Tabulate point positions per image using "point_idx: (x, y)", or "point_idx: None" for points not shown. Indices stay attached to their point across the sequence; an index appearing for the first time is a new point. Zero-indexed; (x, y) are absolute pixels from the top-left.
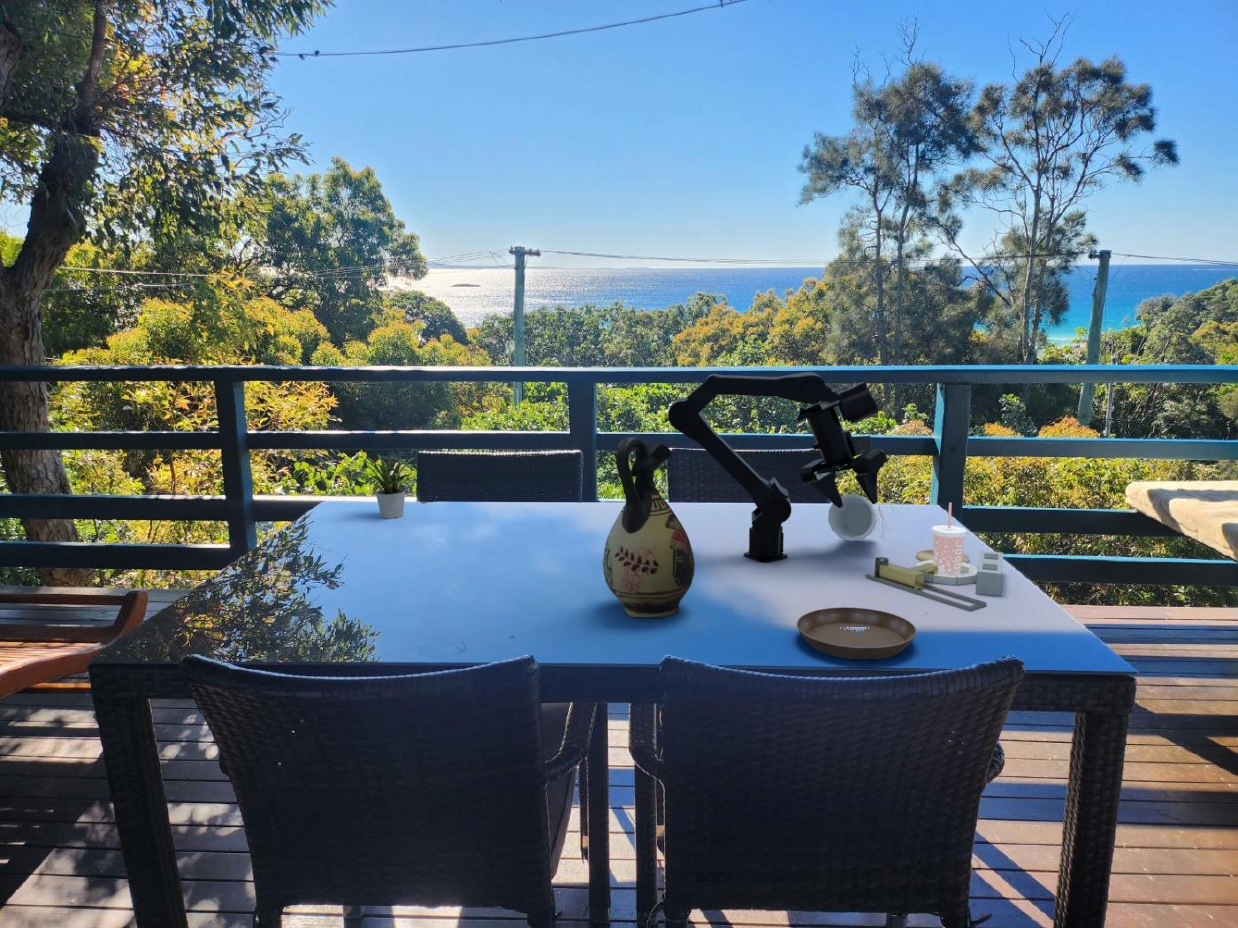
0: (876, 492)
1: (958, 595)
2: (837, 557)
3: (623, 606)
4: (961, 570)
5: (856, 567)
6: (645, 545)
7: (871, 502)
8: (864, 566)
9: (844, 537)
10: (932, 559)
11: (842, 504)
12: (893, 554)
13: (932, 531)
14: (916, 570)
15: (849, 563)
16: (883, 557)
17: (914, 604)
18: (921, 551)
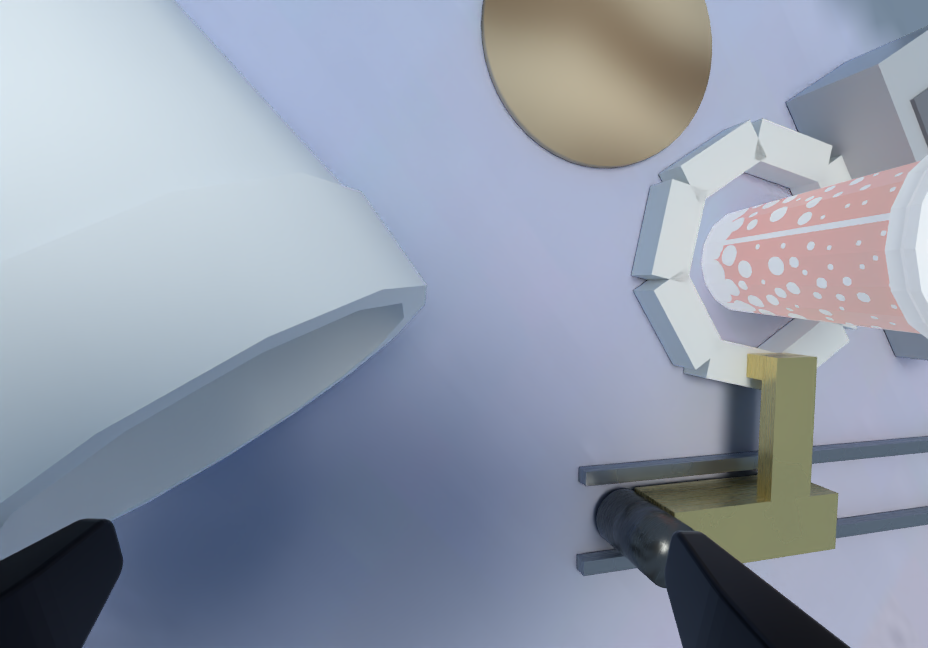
0: (814, 636)
1: (901, 453)
2: (266, 459)
3: None
4: (762, 174)
5: (454, 497)
6: None
7: (677, 613)
8: (466, 453)
9: (251, 439)
10: (606, 122)
11: (99, 533)
12: (411, 165)
13: (923, 324)
14: (803, 493)
15: (387, 481)
16: (665, 533)
17: (842, 617)
18: (490, 30)
